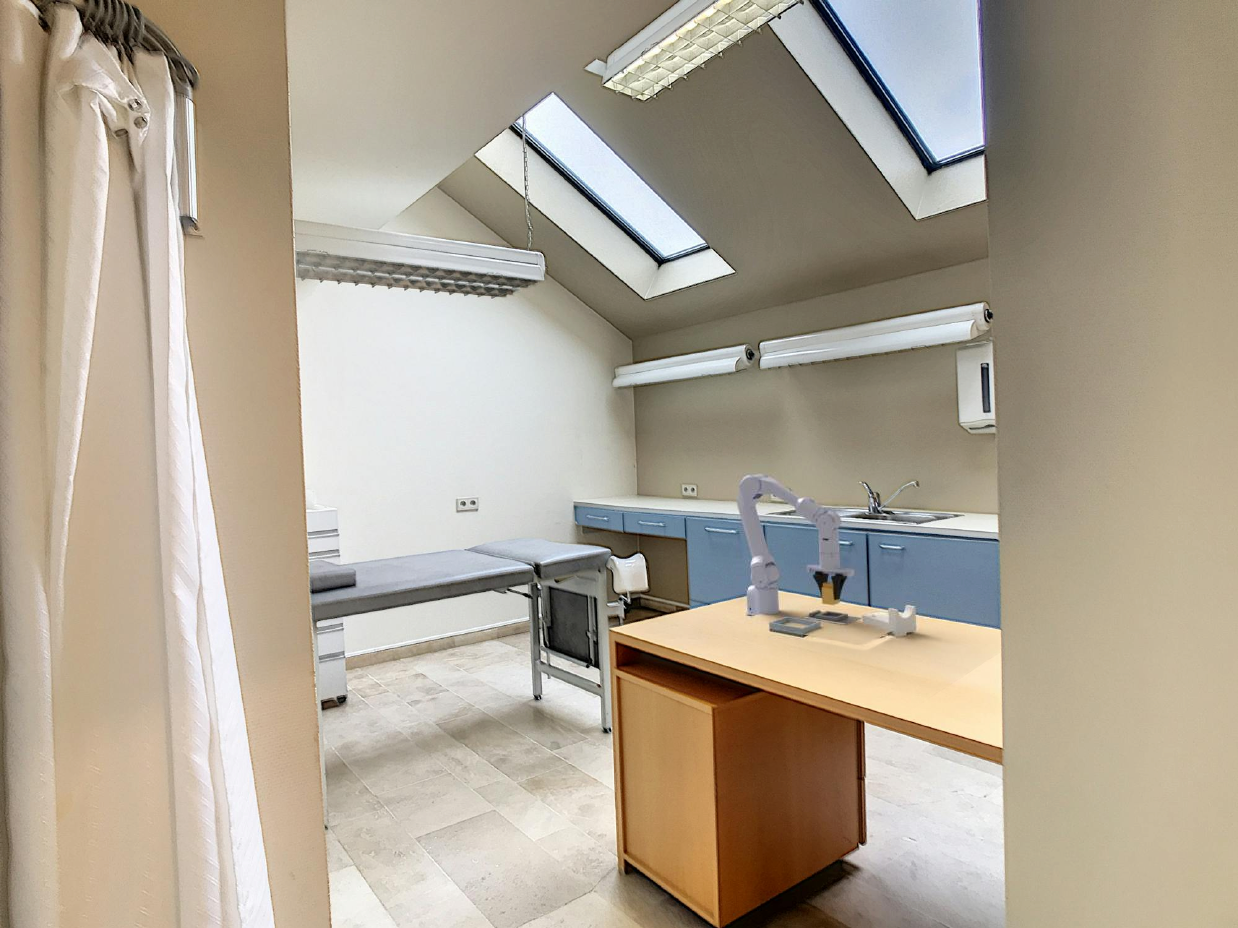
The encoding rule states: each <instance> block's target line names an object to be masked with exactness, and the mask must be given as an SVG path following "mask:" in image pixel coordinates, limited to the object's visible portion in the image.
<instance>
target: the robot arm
mask: <svg viewBox="0 0 1238 928" xmlns="http://www.w3.org/2000/svg"><path fill="white" fill-rule="evenodd" d="M764 495H773V496H774V497H777V498H778V499H779V500H782V501H783V502H785V503H787V504H789V505H791V506H792V507H794V510H795V513H796V514H797V515H799V516H800V517H802V518H803V519H805V520H807V521H808V522H810V523H811V524H813V525H815V527H816V529H817V531H818V549H819V551H818V552H819V553H818V555H819V557H818V558H819V564H807V565H806V572H807V573H814V574H812V578H813V579H814V580H815V583H816V585H817V587H818V589H819V593H820V596H821V598H822V587H823V583H824V582H829V576H830V575H832V576H830V579H831V582H832V583H833V588H834V600H838V599H839V600H840V599H841V596H842V590H843V587H844V585H845V582H846V580H847V579H848V577H849V578H851V577H855V569H854V568H847V567H843V566H840V565H841V559H840V537H839V533H840V532H839V531H840V530H839V527H840V526H841V523H842V518H841V516H840V515H839V514H838V512H837V511H835V510H828V507H827V506H824V507H823V506H822V505H820V503H817V502H815V499H814V498H813V497H808V496H805V497H800V496H798V495H797V494H796V493H795V492H793V491H791V490H790V489H789V488H787V487H786V486H784V485H783V484H781V483H780V482H778V481H777V480H776V479H775V478H773V477H769V475H767V474H765V473H757V474H748V475H746V476H744V477H743V478H742V480H741V481H740V482H739V483H738V495H737V501H736V506H737V509H738V512H739V515H740V520H741V524H742V526H743V530H744V533H745V537H746V540H747V544H748V547H749V551H750V555H751V558H752V559H751V562H750V565H749V566H750V569H751V570H750V581H751V582H752V585H750V586H749V587H748V588H747V591H746V608H747V609H746V610H747V611H746V613H745V614H746V615H747V616H751V617H755V616H758V615H760V614H761V615H774V614H775V615H776V614H778V613H779V612H780V602H779V601H780V600H779V583H778V581H779V580H780V578H781V577H782V575H781V569H780V567H779V566H778V565H777V564H776V562H775V558H774V557H773V556H772V555H771V554H770V552H769V549H768V546H767V541H766V539H765V538H766V537H765V534H764V531H763V528H762V524H761V521H760V516H759V513H758V511H757V507H756V505H757V504H758V502H759V500H760V499H761V498H762V497H763V496H764Z"/></svg>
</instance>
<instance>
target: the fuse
mask: <svg viewBox="0 0 1238 928" xmlns="http://www.w3.org/2000/svg"><path fill="white" fill-rule="evenodd" d="M821 603H822V604H823V605H830V606H831V605H832V606H836V605H837V604H840V603H841V602H840V599H838V600H834V588H833V583H832V581H828V582H824V583H823V587H822V597H821Z"/></svg>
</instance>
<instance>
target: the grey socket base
mask: <svg viewBox="0 0 1238 928" xmlns="http://www.w3.org/2000/svg"><path fill="white" fill-rule="evenodd" d="M802 619H805V620H811V621H817V622H823V623H830V624H835V625H841V626H847V625H848V624H851V623H854V622H856V621H858V620H861V619H862V617H857V616H851V615H849V613H843V612H836V611H831V610H825V611H821V610H819V609H817V610H815V611H812V612H809V613H808V615H806V616H803V617H802Z"/></svg>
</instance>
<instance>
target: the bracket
mask: <svg viewBox="0 0 1238 928" xmlns="http://www.w3.org/2000/svg"><path fill="white" fill-rule="evenodd" d="M887 610H888V611H887V612H884V611H880V612H874V613H869V614H868V613H867V614H863V615H862V616H861V619H862V621H861V622H862V624H867V625H869V626H872V627H876V628H880V629H883V630H886V631H889V632H888V633H886V635H889V636H891V635H892V636H891V637H894V638H898V637H904V636H903V635H905V636H907V633H913V632H916V631H917V613H916V610H917V609H916V606H914V605H909V604H907V605H905V608H904V611H903V613H902V614H900V613H899V609H897V608H896V609H895V608H892V607H888V609H887Z"/></svg>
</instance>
